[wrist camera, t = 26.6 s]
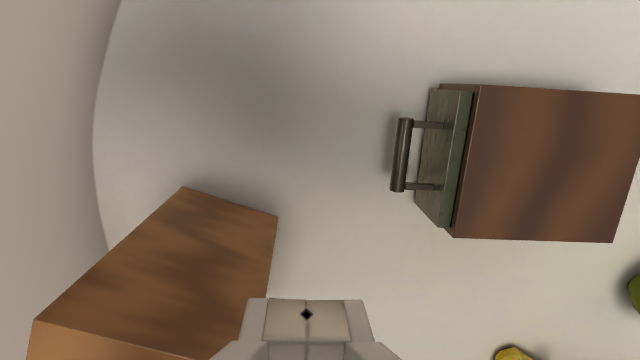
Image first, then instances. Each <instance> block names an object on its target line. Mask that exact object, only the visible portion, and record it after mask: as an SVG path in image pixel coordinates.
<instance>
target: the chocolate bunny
mask: <svg viewBox="0 0 640 360" xmlns="http://www.w3.org/2000/svg"><path fill="white" fill-rule="evenodd" d="M495 360H533V359H531V358H530V357H528V356H527V355H525V354H524V353H522V352H521V351H520V350H518V349H517V348H515V347H513V348H509V349H505V350H501V351H500V352H499V353H498V354H497V355H496V357H495Z"/></svg>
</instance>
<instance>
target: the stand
mask: <svg viewBox="0 0 640 360" xmlns="http://www.w3.org/2000/svg"><path fill="white" fill-rule="evenodd" d="M277 223H278V217H276V216H273V215H270V214H266V213H263V212H260V211H257V210H254V209H251V208H248V207H245V206H242V205H238V204H235V203H232V202H229V201H226V200H223V199H220V198H217V197H214V196H210V195H207V194H204V193H201V192H198V191H195V190H192V189H189V188H186V187H181V188H180V189H179V190H178V191H177V192H176V193H175V194H173V195H172V196H171V197H170V198H169V199H168V200H167V201H166V202H165V203H163V204H162V205H161V206H160V207H159V208H158V209H157V210H156V211H154V212H153V213H152V214H151V215H150V216H149V217H148V218H147V219H145V220H144V221H143V222H142V223H141V224H140V225H139V226H138V227H136V228H135V229H134V230H133V231H132V232H131V233H130V234H129V235H128V236H126V237H125V238H124V239H123V240H122V241H121V242H120V243H119V244H117V245H116V246H115V247H114V248H113V249H112V250H111V251H110V252H108V253H107V254H106V255H105V256H104V257H103V258H102V259H101V260H100V261H99V262H97V263H96V264H95V265H94V266H93V267H92V268H91V269H89V270H88V271H87V272H86V273H85V274H84V275H83V276H82V277H81V278H79V279H78V280H77V281H76V282H75V283H74V284H73V285H72V286H70V287H69V288H68V289H67V290H66V291H65V292H64V293H63V294H62V295H60V296H59V297H58V298H57V299H56V300H55V301H54V302H52V303H51V304H50V305H49V306H48V307H47V308H46V309H45V310H43V311H42V312H41V313H40V314H39V315H38V316H37V317H36V318H35V319H34V320H33V324H32V329H31V335H30V340H29V345H28V351H27V356H26V360H209V359H210V358H212V357H213V356H214V355H215V354H216V353H218V352H219V351H220V350H221V349H222V348H224V347H225V346H226V345H227V344H229V343H230V342H231V341H238V338H239V334H240V330H241V326H242V322H243V318H244V313H245V309H246V305H247V301H248V299H249V298H266V292H267V286H268V280H269V273H270V267H271V261H272V255H273V248H274V242H275V236H276V230H277Z"/></svg>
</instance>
